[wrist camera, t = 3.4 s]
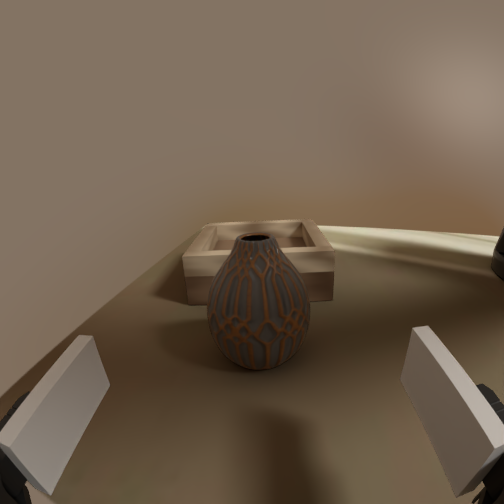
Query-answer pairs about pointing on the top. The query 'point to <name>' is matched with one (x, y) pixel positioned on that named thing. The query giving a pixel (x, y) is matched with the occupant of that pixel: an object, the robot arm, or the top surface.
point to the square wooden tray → (289, 240)
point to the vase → (258, 304)
